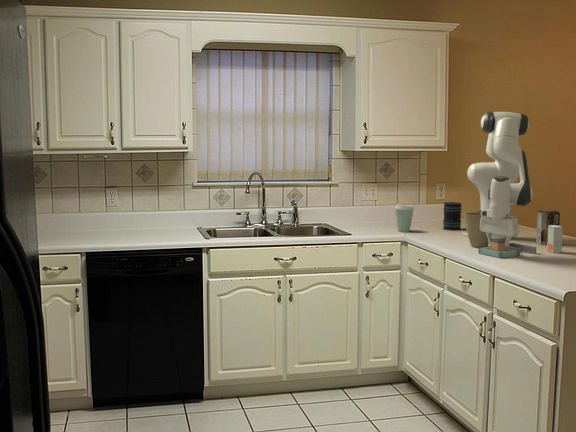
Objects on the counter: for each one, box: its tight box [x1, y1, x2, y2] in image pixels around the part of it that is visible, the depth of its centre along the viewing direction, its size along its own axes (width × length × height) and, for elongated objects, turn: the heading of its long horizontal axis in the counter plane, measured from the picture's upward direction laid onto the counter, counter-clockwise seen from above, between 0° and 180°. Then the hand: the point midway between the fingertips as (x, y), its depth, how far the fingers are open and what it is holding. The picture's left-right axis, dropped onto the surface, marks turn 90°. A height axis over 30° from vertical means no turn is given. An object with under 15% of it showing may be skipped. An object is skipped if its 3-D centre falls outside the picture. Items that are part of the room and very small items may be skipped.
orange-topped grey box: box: [488, 238, 508, 252], centre depth 297 cm, size 5×6×6 cm
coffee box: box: [535, 210, 561, 246], centre depth 327 cm, size 9×6×16 cm
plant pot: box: [463, 211, 492, 249], centre depth 318 cm, size 15×15×16 cm
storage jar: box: [442, 201, 462, 232], centre depth 378 cm, size 10×10×15 cm
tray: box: [478, 246, 519, 259], centre depth 297 cm, size 13×11×2 cm
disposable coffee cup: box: [394, 203, 415, 233], centre depth 370 cm, size 11×11×15 cm
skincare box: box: [546, 225, 564, 254], centre depth 304 cm, size 6×4×12 cm
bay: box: [508, 242, 537, 257], centre depth 304 cm, size 15×11×3 cm
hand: (498, 244), depth 297 cm, fingers open, 8 cm apart
